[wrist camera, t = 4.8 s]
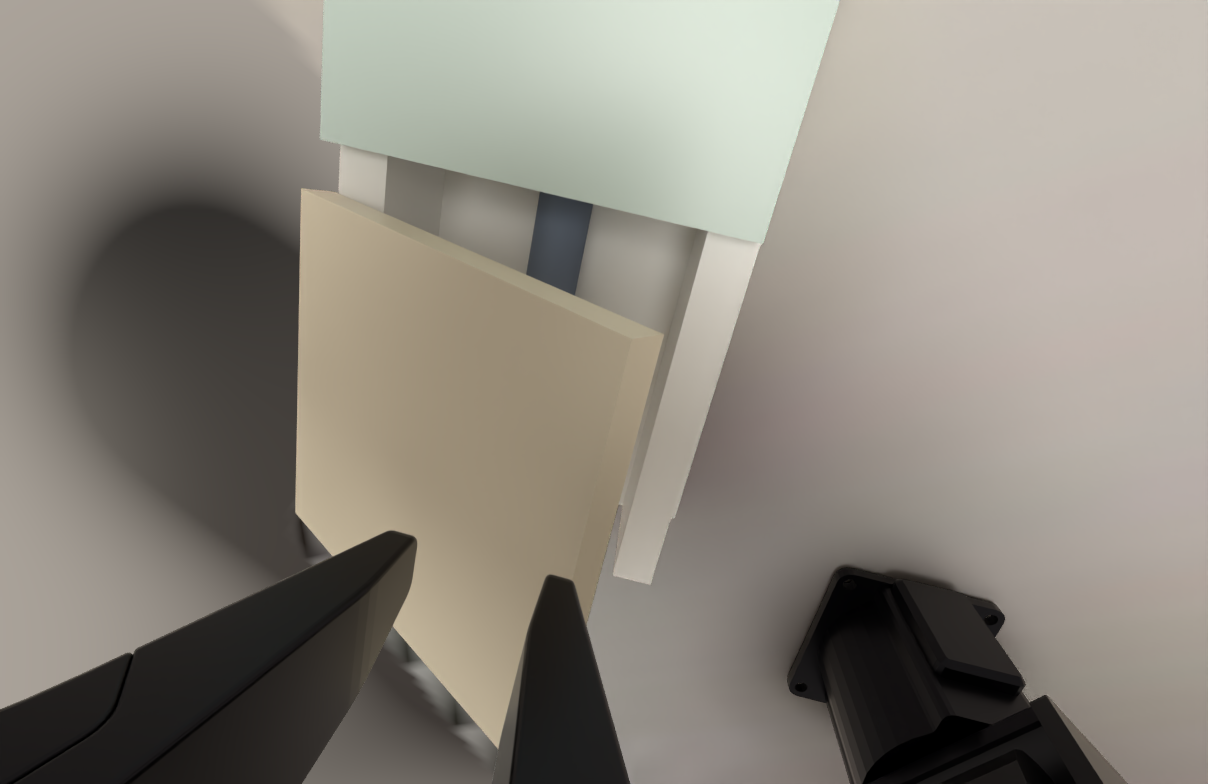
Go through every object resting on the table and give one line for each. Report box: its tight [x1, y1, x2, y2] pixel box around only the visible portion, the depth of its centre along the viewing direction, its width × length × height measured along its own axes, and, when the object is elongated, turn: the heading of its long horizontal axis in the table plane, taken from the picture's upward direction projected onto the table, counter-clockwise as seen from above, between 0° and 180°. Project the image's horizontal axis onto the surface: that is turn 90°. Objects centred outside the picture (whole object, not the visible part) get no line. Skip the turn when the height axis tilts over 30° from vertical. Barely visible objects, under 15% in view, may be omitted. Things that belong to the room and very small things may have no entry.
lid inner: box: [295, 188, 664, 748], centre depth 13 cm, size 9×10×1 cm
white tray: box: [338, 144, 761, 585], centre depth 16 cm, size 20×12×5 cm, turn 167°
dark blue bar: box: [526, 192, 593, 296], centre depth 17 cm, size 16×2×2 cm, turn 168°
